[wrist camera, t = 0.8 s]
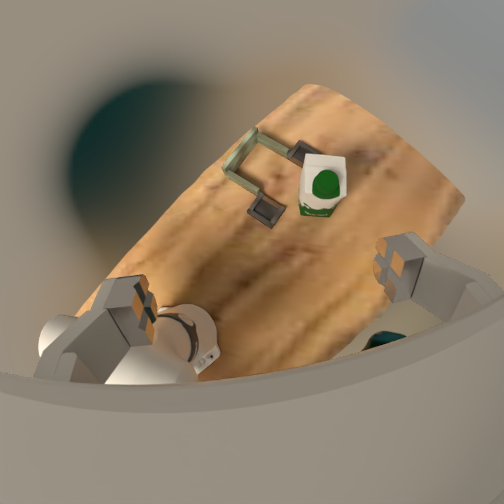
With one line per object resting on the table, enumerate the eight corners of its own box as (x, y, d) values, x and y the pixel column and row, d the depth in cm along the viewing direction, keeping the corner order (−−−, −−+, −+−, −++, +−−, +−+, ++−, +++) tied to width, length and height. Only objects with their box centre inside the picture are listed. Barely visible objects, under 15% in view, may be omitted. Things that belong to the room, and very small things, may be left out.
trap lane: (271, 228, 65) (270, 223, 59) (215, 192, 67) (208, 183, 61) (321, 156, 65) (324, 145, 59) (266, 125, 68) (265, 113, 62)
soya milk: (296, 218, 64) (301, 191, 44) (298, 183, 65) (302, 144, 45) (332, 221, 63) (352, 195, 43) (333, 186, 64) (350, 148, 44)
